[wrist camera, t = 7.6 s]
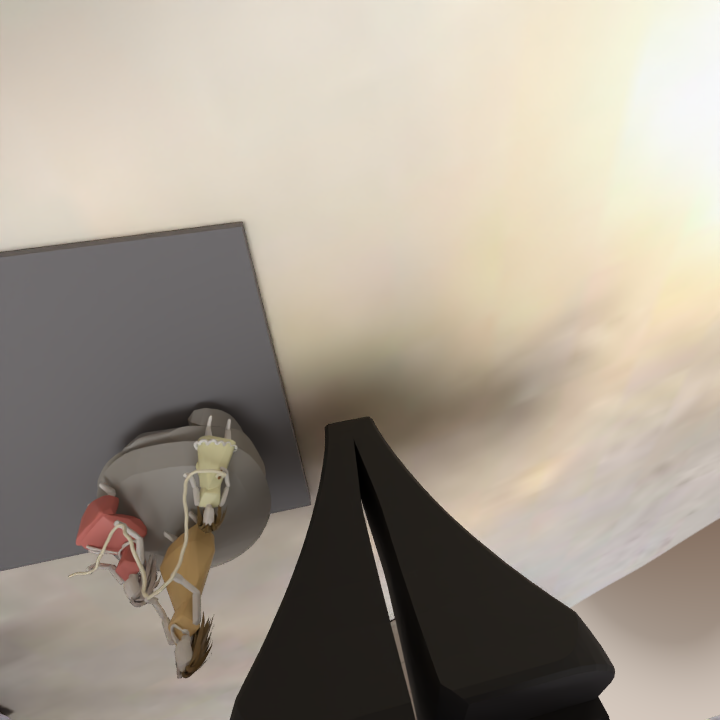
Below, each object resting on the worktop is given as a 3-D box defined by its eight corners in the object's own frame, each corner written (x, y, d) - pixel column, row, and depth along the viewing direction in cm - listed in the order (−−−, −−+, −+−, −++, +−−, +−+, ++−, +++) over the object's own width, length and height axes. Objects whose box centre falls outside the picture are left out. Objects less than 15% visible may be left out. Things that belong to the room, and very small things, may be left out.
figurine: (239, 529, 13) (224, 755, 8) (98, 508, 12) (-36, 774, 7) (295, 407, 12) (320, 589, 7) (141, 364, 10) (11, 560, 5)
